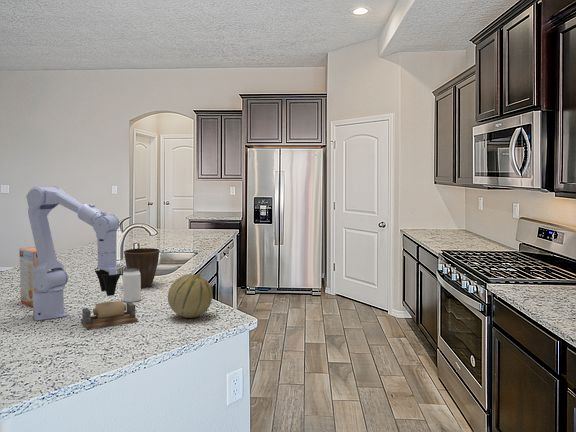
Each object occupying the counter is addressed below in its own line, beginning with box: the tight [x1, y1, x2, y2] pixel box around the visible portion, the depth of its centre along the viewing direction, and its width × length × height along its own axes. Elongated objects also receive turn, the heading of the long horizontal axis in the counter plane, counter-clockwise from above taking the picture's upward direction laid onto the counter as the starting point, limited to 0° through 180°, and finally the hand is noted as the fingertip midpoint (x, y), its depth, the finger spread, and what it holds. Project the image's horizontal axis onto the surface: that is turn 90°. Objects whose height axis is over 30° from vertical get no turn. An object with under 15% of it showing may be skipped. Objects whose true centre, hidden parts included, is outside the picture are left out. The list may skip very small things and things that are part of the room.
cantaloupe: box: [167, 273, 213, 319], centre depth 164 cm, size 15×15×15 cm
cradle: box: [80, 302, 139, 330], centre depth 158 cm, size 16×10×5 cm, turn 124°
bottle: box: [92, 300, 127, 319], centre depth 158 cm, size 10×5×5 cm, turn 124°
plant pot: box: [123, 247, 160, 289], centre depth 211 cm, size 15×15×16 cm
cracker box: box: [18, 246, 50, 308], centre depth 180 cm, size 14×6×21 cm, turn 47°
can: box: [122, 268, 142, 303], centre depth 186 cm, size 6×6×12 cm
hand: (107, 293), depth 158 cm, fingers open, 7 cm apart
